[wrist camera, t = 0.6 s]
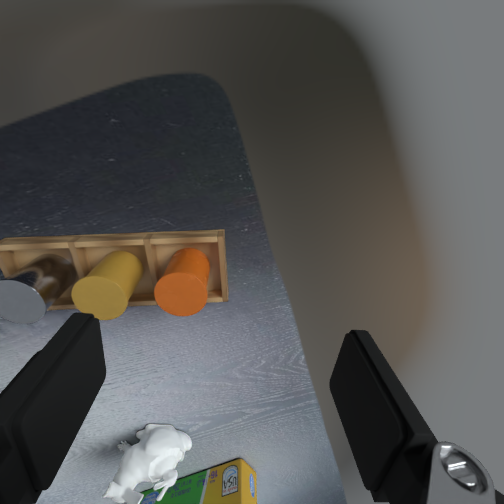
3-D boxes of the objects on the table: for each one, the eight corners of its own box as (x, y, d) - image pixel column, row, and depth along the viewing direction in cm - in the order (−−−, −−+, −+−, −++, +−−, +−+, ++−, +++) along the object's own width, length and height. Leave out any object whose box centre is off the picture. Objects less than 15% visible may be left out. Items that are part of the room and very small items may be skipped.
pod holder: (33, 301, 30) (21, 311, 28) (4, 237, 27) (-11, 245, 25) (228, 291, 31) (228, 301, 29) (224, 229, 28) (223, 236, 26)
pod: (165, 246, 28) (149, 273, 23) (210, 244, 28) (204, 271, 23) (171, 285, 30) (158, 317, 25) (214, 283, 30) (209, 315, 25)
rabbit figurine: (118, 448, 42) (87, 533, 34) (105, 417, 39) (67, 502, 30) (195, 442, 43) (185, 525, 34) (189, 411, 40) (176, 493, 31)
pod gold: (95, 249, 28) (63, 277, 23) (141, 247, 28) (120, 275, 23) (106, 288, 30) (80, 321, 25) (149, 286, 30) (132, 318, 25)
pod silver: (23, 252, 27) (-24, 281, 22) (70, 250, 27) (34, 278, 22) (39, 291, 29) (-1, 325, 24) (83, 289, 29) (52, 322, 24)
